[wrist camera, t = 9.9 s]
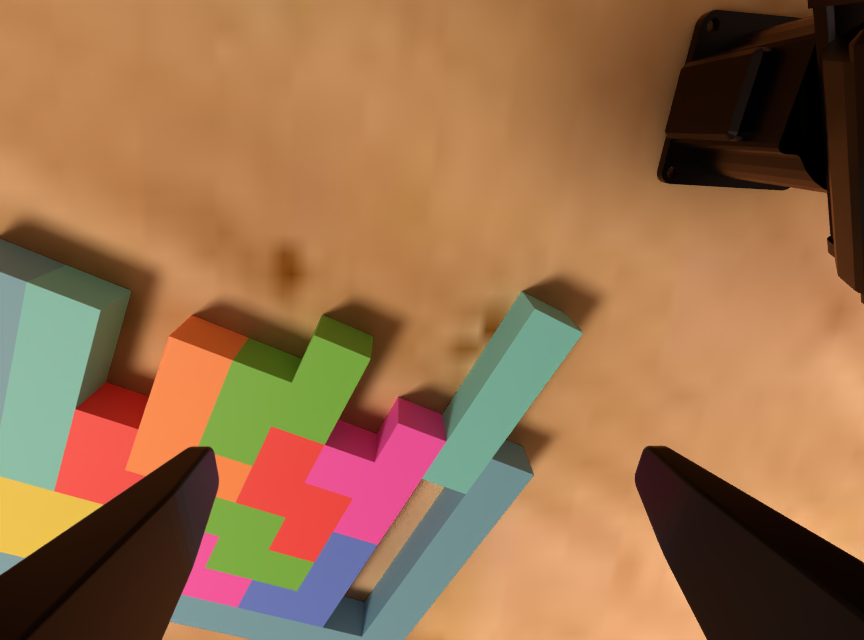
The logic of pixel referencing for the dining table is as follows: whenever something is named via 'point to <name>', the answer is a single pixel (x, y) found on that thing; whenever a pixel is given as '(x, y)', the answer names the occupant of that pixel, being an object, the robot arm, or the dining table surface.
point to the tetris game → (260, 452)
